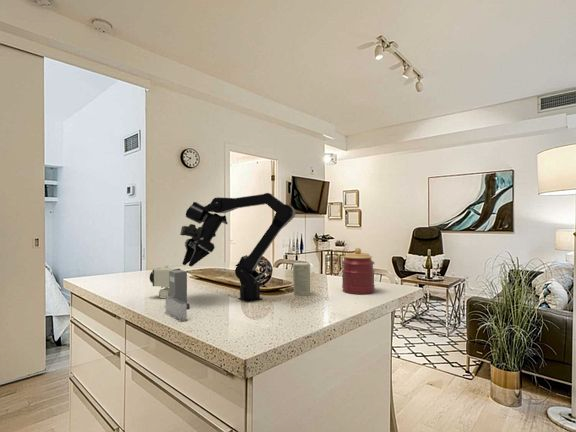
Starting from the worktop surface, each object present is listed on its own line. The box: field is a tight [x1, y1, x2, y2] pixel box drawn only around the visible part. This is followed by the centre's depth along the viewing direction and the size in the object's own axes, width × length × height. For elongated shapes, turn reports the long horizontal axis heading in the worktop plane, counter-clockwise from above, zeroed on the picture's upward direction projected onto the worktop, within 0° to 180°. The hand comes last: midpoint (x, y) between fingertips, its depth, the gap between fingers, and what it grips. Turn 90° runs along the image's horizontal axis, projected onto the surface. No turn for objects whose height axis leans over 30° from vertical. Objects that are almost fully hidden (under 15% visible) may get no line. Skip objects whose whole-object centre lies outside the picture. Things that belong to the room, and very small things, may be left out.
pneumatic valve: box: [149, 265, 181, 300], centre depth 126 cm, size 6×12×12 cm, turn 78°
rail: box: [165, 296, 191, 322], centre depth 101 cm, size 3×13×5 cm, turn 39°
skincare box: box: [292, 262, 311, 296], centre depth 130 cm, size 6×4×12 cm
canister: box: [341, 247, 376, 295], centre depth 134 cm, size 13×13×18 cm
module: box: [169, 269, 188, 304], centre depth 112 cm, size 4×6×12 cm
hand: (186, 265), depth 118 cm, fingers open, 9 cm apart
